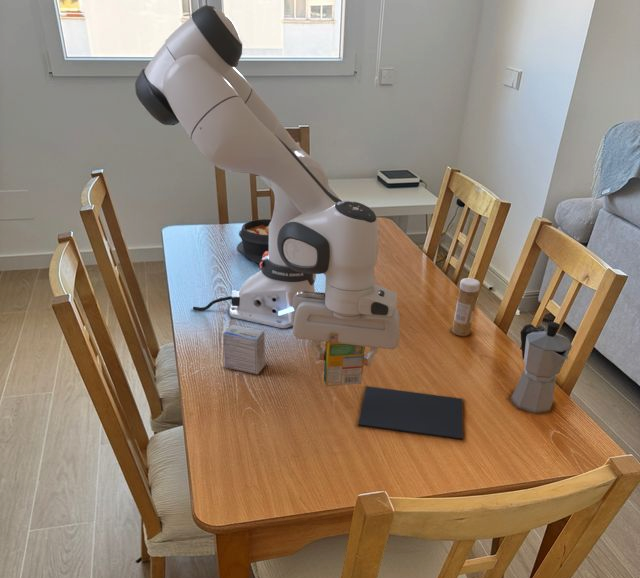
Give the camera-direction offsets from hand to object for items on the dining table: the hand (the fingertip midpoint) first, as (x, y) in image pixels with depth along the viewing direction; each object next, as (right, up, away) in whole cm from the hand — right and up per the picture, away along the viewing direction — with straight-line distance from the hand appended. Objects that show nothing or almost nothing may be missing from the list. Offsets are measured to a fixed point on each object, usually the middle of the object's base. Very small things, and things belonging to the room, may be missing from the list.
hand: (344, 361), depth 123 cm
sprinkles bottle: (+30, +10, +33) cm, 46 cm away
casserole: (-21, +40, +69) cm, 82 cm away
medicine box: (-21, 0, +15) cm, 26 cm away
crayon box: (0, -4, +3) cm, 5 cm away
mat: (+14, -10, +4) cm, 17 cm away
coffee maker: (+39, -7, +10) cm, 41 cm away
